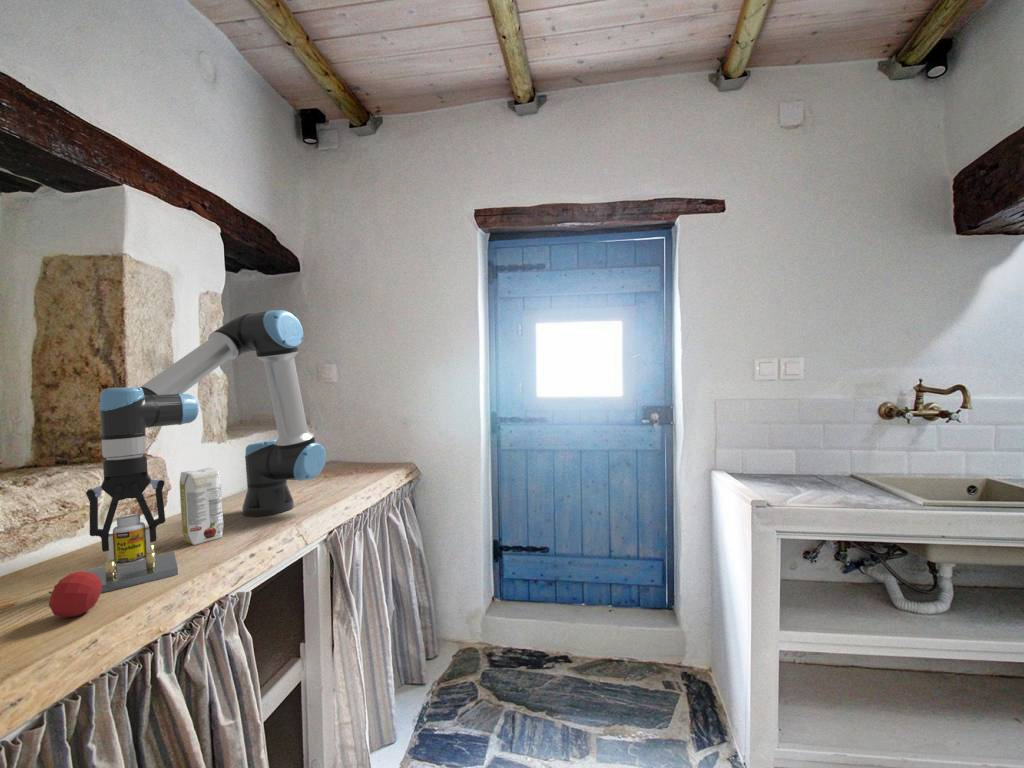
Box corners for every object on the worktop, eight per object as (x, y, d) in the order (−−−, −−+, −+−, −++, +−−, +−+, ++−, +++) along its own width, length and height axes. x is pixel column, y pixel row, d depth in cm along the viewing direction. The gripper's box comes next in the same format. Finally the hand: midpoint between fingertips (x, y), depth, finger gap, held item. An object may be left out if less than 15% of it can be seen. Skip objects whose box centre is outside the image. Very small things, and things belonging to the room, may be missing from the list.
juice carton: (226, 537, 129) (222, 468, 129) (190, 547, 122) (186, 474, 122) (215, 532, 133) (211, 466, 133) (180, 542, 126) (176, 472, 126)
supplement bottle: (112, 569, 100) (109, 521, 100) (116, 561, 105) (114, 516, 105) (145, 562, 103) (142, 516, 103) (148, 555, 108) (145, 511, 108)
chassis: (174, 557, 115) (173, 537, 115) (178, 574, 104) (176, 551, 104) (86, 577, 105) (85, 555, 105) (80, 598, 94) (78, 573, 94)
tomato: (104, 563, 88) (55, 562, 86) (81, 603, 82) (27, 603, 80) (113, 585, 93) (66, 585, 91) (91, 625, 87) (40, 626, 85)
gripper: (175, 449, 113) (180, 545, 113) (69, 461, 101) (75, 568, 101) (177, 452, 107) (183, 553, 107) (65, 465, 95) (72, 578, 95)
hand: (131, 560), depth 104 cm, fingers closed on supplement bottle, 6 cm apart
